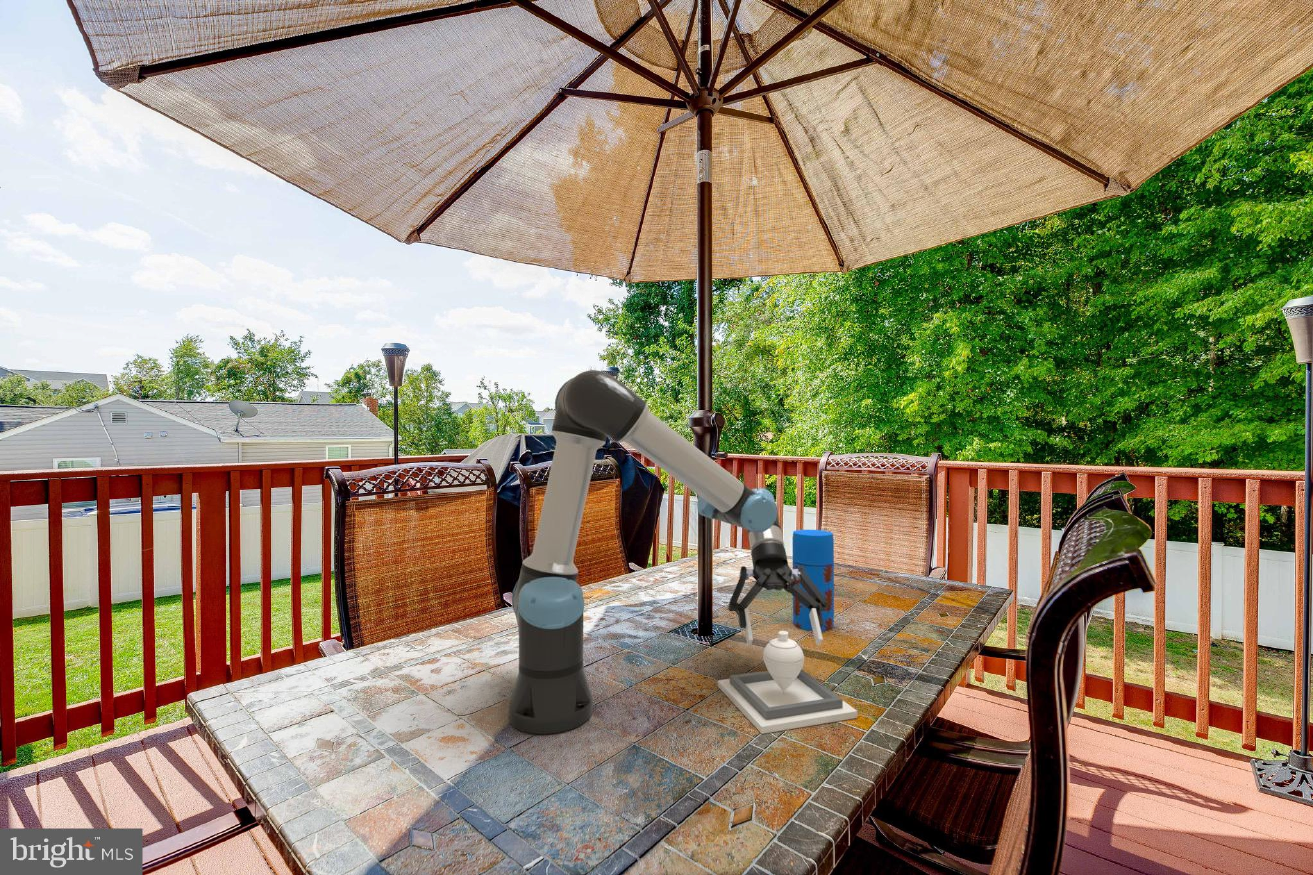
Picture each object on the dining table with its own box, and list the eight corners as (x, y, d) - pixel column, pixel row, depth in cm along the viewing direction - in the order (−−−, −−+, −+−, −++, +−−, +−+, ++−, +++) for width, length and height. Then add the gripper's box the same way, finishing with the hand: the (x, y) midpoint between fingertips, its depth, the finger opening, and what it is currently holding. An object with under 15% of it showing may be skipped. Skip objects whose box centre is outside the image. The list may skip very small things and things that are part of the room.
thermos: (784, 621, 152) (784, 531, 152) (814, 616, 156) (814, 528, 157) (811, 634, 142) (810, 537, 142) (842, 628, 146) (842, 534, 147)
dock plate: (761, 733, 93) (761, 717, 93) (717, 686, 112) (717, 672, 112) (857, 717, 99) (857, 702, 99) (800, 674, 117) (800, 662, 117)
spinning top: (755, 694, 105) (754, 631, 105) (777, 682, 111) (777, 622, 111) (790, 708, 100) (789, 642, 100) (812, 694, 105) (811, 631, 105)
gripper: (819, 559, 125) (843, 650, 110) (710, 559, 125) (719, 651, 110) (827, 540, 120) (853, 633, 105) (713, 540, 119) (722, 634, 104)
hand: (784, 642), depth 107 cm, fingers open, 13 cm apart
